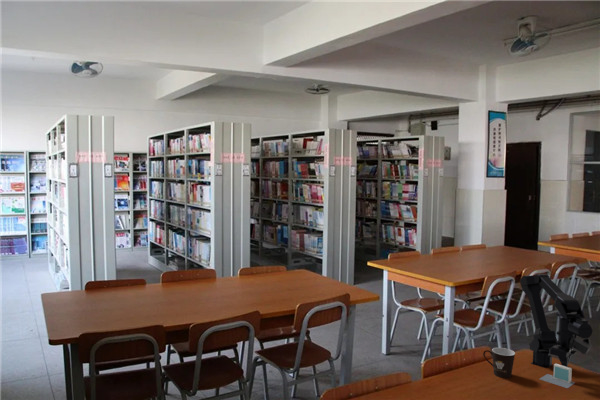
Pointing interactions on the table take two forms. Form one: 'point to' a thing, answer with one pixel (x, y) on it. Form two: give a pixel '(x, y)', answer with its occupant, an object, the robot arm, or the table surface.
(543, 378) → the mat
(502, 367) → the coffee mug
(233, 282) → the table surface
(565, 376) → the tile
